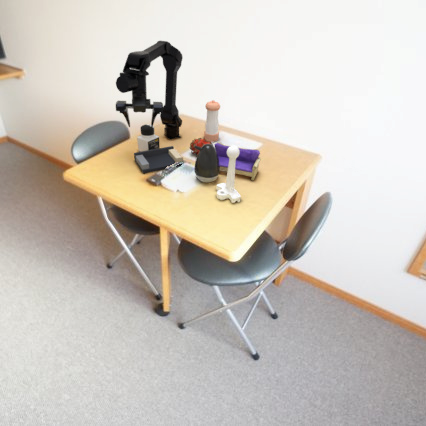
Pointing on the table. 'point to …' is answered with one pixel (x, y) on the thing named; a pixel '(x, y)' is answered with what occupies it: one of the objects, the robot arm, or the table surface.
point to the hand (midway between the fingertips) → (140, 127)
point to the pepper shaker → (212, 121)
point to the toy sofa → (239, 160)
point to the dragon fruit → (198, 144)
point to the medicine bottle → (147, 139)
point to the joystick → (229, 178)
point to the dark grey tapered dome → (207, 163)
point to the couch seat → (157, 159)
